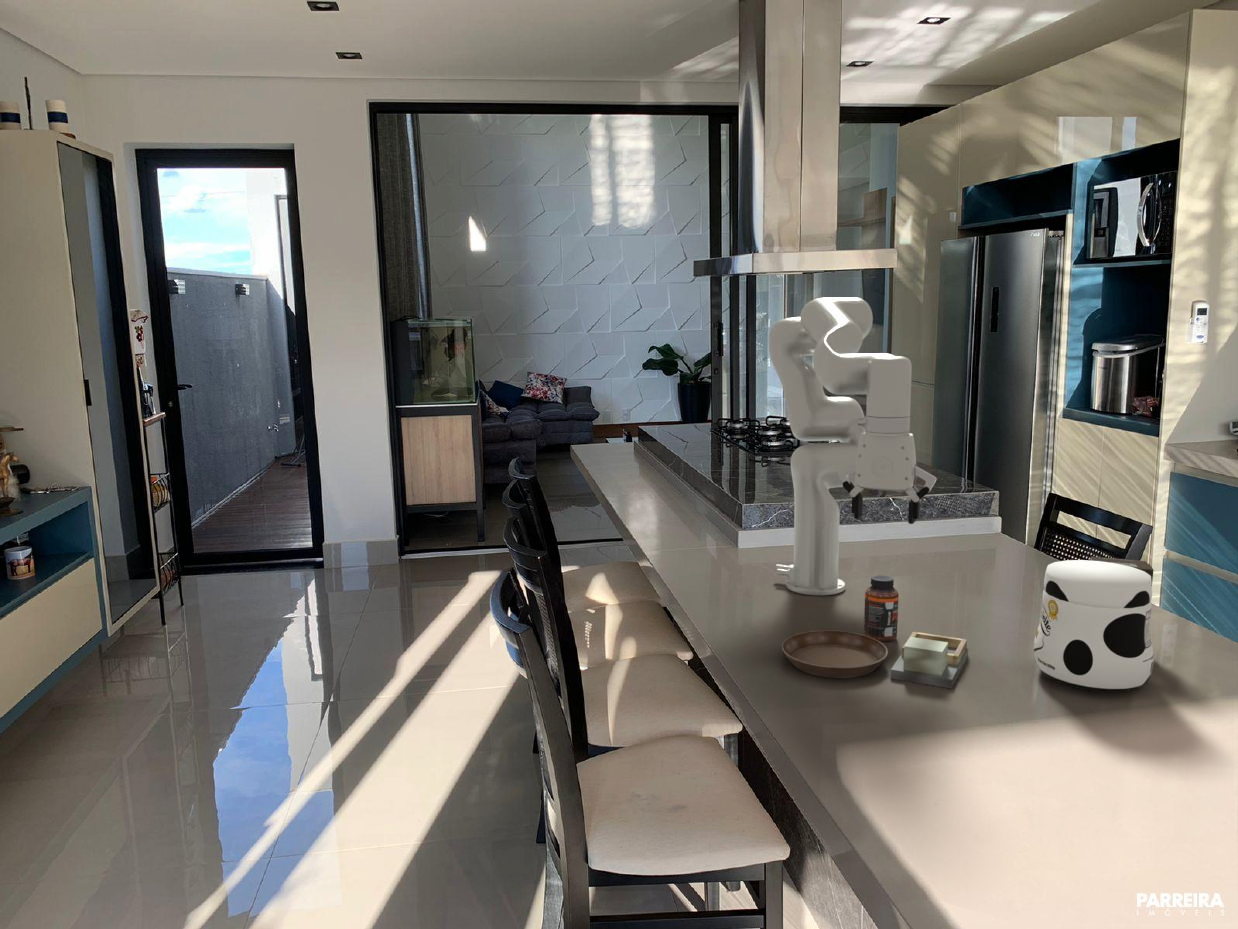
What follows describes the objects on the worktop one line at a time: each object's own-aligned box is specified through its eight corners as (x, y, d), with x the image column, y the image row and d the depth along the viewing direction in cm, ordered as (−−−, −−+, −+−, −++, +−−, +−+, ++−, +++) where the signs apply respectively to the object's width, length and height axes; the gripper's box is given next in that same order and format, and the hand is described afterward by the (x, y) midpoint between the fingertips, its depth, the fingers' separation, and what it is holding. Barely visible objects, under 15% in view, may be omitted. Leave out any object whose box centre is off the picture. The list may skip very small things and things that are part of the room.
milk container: (1012, 662, 161) (1018, 560, 158) (1109, 658, 162) (1116, 556, 159) (1068, 704, 144) (1076, 590, 141) (1176, 698, 145) (1186, 585, 142)
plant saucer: (805, 688, 152) (805, 670, 151) (766, 650, 169) (767, 634, 168) (906, 678, 155) (907, 661, 154) (858, 642, 172) (859, 626, 172)
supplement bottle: (898, 643, 170) (900, 583, 169) (864, 641, 172) (866, 581, 170) (895, 632, 176) (897, 574, 174) (862, 630, 177) (864, 572, 176)
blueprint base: (890, 678, 154) (891, 646, 154) (911, 647, 168) (912, 617, 167) (951, 688, 150) (953, 655, 149) (967, 656, 164) (969, 625, 163)
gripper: (833, 426, 168) (831, 519, 171) (934, 430, 160) (930, 528, 163) (845, 421, 175) (843, 512, 178) (942, 425, 167) (938, 520, 169)
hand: (884, 520), depth 170 cm, fingers open, 9 cm apart
